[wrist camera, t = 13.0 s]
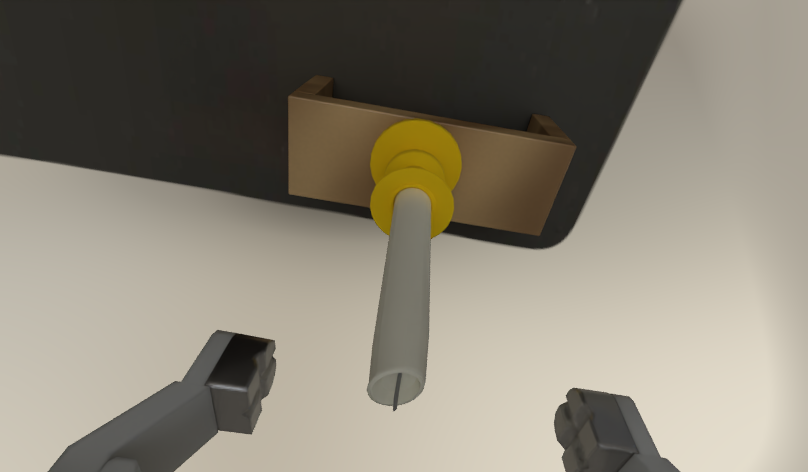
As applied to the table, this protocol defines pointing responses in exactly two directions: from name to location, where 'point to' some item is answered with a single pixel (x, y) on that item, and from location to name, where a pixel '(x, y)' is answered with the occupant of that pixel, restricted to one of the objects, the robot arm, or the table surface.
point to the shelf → (479, 146)
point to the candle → (408, 248)
